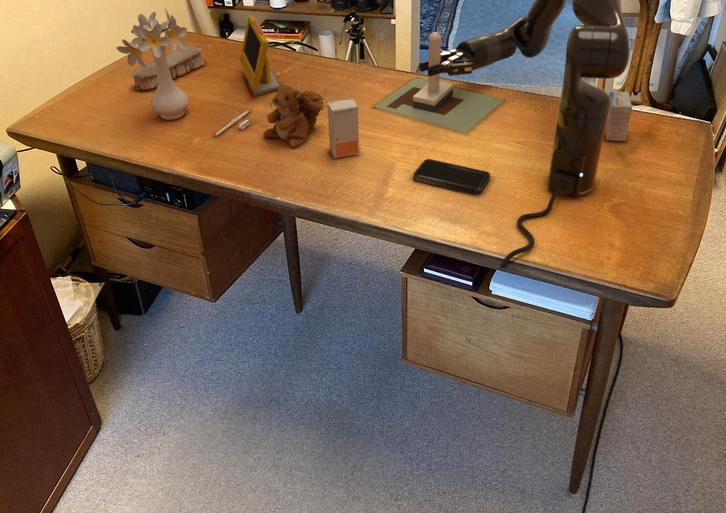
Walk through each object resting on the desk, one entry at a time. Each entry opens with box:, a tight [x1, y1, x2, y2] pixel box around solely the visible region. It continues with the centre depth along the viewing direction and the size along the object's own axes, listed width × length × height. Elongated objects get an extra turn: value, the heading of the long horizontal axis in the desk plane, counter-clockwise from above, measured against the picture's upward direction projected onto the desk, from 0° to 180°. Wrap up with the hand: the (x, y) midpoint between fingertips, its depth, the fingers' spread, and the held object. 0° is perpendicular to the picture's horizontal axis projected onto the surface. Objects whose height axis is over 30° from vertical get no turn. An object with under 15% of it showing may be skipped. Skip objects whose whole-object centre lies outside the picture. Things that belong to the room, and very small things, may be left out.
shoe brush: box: [131, 45, 205, 91], centre depth 196 cm, size 24×8×5 cm, turn 146°
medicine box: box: [604, 91, 633, 142], centre depth 160 cm, size 8×4×9 cm, turn 169°
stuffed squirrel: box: [262, 81, 326, 149], centre depth 164 cm, size 10×14×13 cm
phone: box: [413, 158, 491, 195], centre depth 150 cm, size 8×1×15 cm
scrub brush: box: [413, 31, 454, 112], centre depth 173 cm, size 11×6×18 cm, turn 150°
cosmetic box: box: [326, 98, 360, 159], centre depth 157 cm, size 6×4×12 cm
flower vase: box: [116, 8, 190, 121], centre depth 170 cm, size 13×18×25 cm
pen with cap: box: [214, 109, 251, 137], centre depth 172 cm, size 14×4×2 cm, turn 153°
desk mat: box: [373, 77, 504, 134], centre depth 178 cm, size 20×26×1 cm
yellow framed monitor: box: [239, 14, 280, 97], centre depth 186 cm, size 20×8×16 cm, turn 17°
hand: (424, 69), depth 172 cm, fingers closed on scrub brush, 3 cm apart
